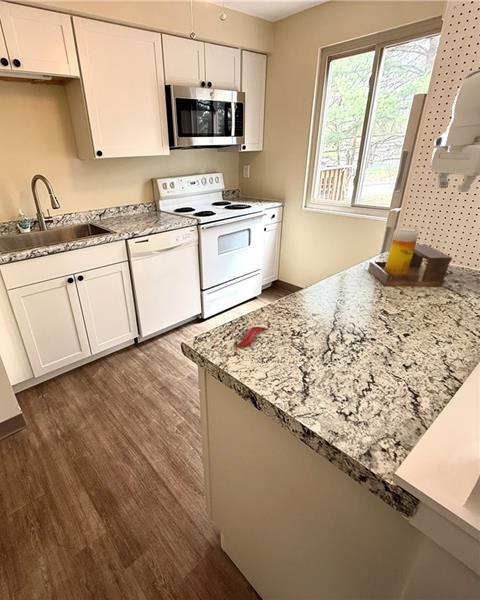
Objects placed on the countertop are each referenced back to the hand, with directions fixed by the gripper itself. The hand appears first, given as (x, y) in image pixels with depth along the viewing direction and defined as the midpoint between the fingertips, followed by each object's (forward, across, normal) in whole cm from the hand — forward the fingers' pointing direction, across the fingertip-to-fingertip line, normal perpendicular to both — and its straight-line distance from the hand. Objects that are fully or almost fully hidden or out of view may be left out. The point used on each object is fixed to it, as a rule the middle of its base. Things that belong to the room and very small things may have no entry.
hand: (451, 189), depth 91 cm
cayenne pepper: (+26, -43, +59) cm, 78 cm away
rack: (+27, -2, +8) cm, 28 cm away
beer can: (+26, -2, +10) cm, 28 cm away
